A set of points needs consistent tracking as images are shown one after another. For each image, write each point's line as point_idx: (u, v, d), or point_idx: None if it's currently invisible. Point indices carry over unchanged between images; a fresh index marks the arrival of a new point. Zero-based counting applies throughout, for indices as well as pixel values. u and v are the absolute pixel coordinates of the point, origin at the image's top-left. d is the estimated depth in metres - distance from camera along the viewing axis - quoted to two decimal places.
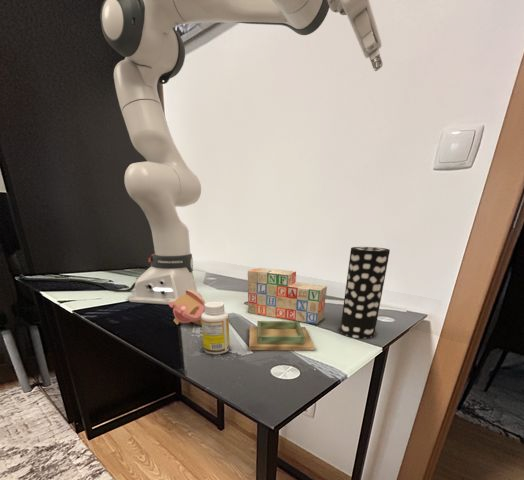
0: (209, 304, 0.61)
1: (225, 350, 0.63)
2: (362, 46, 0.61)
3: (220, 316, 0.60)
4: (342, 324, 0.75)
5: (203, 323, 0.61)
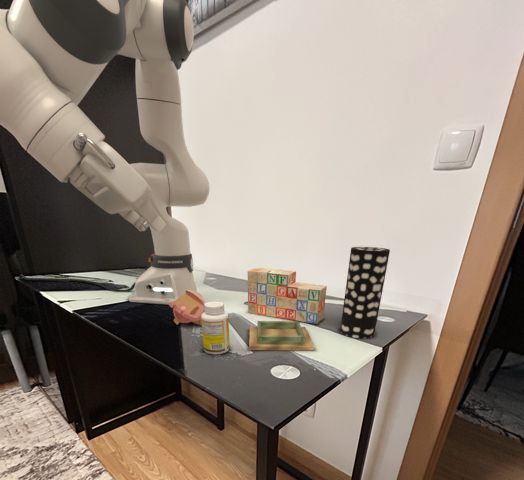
0: (209, 303, 0.61)
1: (225, 350, 0.63)
2: None
3: (220, 316, 0.60)
4: (342, 324, 0.75)
5: (203, 323, 0.61)
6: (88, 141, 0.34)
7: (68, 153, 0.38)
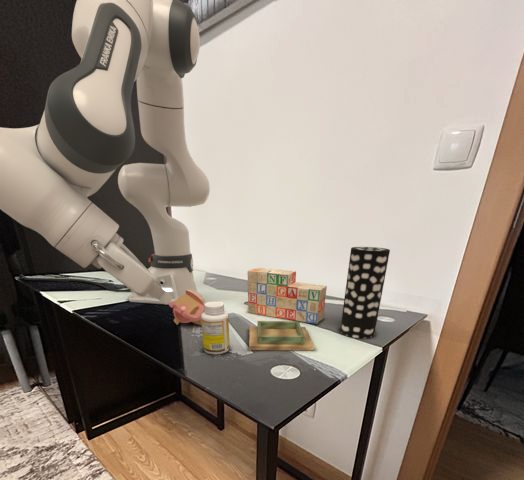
0: (209, 303, 0.61)
1: (225, 350, 0.63)
2: None
3: (220, 316, 0.60)
4: (342, 324, 0.75)
5: (203, 323, 0.61)
6: (100, 253, 0.40)
7: (87, 251, 0.44)
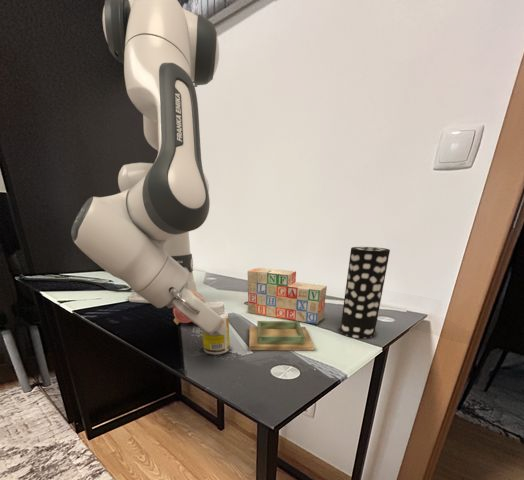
0: (209, 304, 0.61)
1: (225, 350, 0.63)
2: None
3: (220, 316, 0.60)
4: (342, 324, 0.75)
5: None
6: (183, 301, 0.48)
7: (165, 296, 0.52)
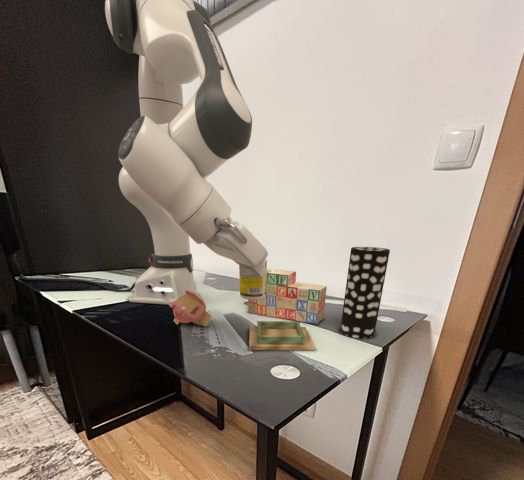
0: None
1: (263, 295, 0.62)
2: None
3: None
4: (342, 324, 0.75)
5: (242, 265, 0.60)
6: (232, 227, 0.46)
7: (209, 228, 0.51)
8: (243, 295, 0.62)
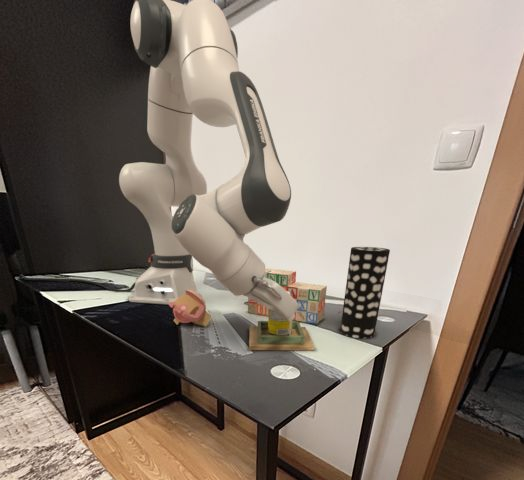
0: None
1: (289, 335, 0.69)
2: None
3: None
4: (342, 324, 0.75)
5: (271, 310, 0.66)
6: (270, 288, 0.53)
7: (247, 284, 0.57)
8: None
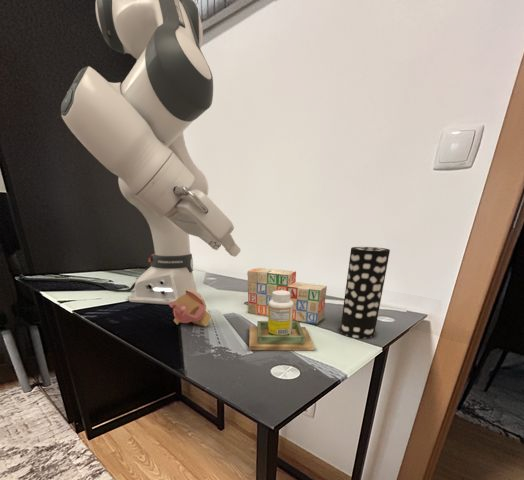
0: (276, 292, 0.66)
1: (289, 335, 0.69)
2: None
3: (288, 303, 0.66)
4: (342, 324, 0.75)
5: (271, 310, 0.66)
6: (190, 194, 0.42)
7: (169, 198, 0.46)
8: None
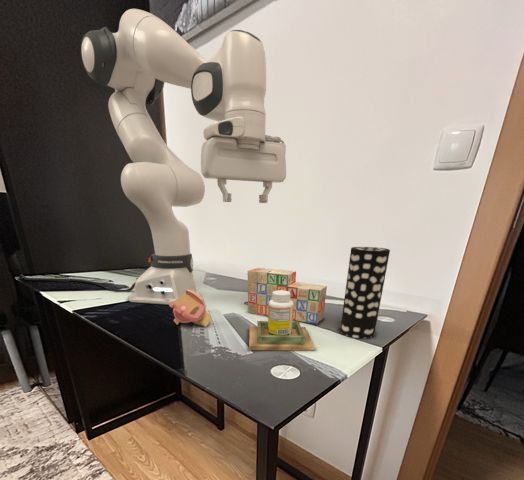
0: (276, 292, 0.66)
1: (289, 335, 0.69)
2: None
3: (288, 303, 0.66)
4: (342, 324, 0.75)
5: (271, 310, 0.66)
6: (284, 143, 0.71)
7: None
8: None
